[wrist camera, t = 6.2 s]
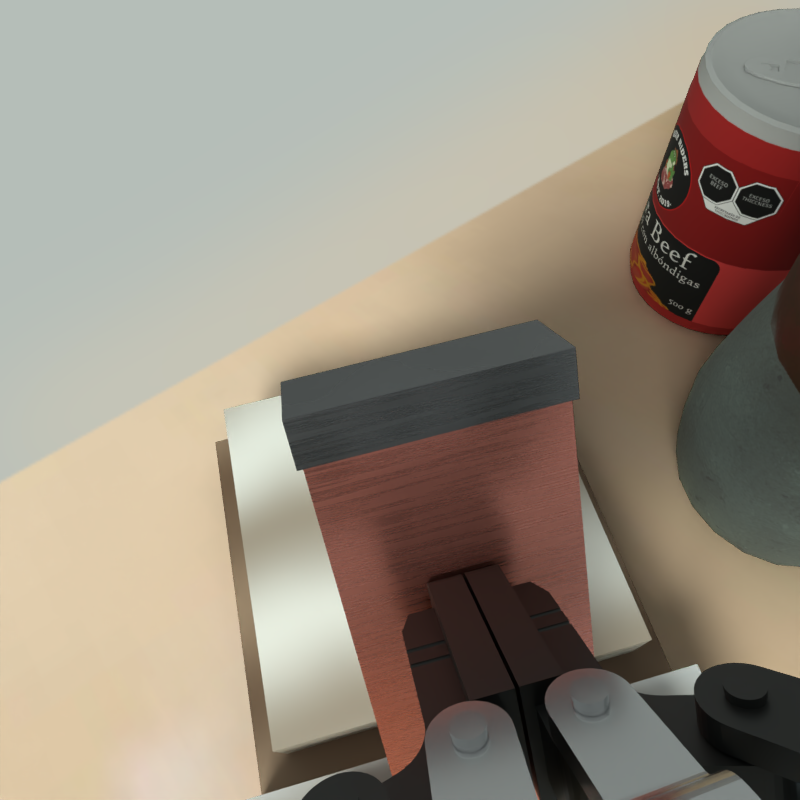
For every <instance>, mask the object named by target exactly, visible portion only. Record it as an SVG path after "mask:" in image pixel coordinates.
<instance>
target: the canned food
mask: <svg viewBox="0 0 800 800" xmlns="http://www.w3.org/2000/svg"><path fill="white" fill-rule="evenodd" d="M799 254H800V9H777V10H771V11H764V12H758V13H755V14H752V15H748V16H745V17H742V18H739V19H738V20H735V21H734V22H731V23H729V24H727V25H726V26H725V27H724V28H722V29H721V30H720V31H718V32H717V33H716V34H715V36H714V37H713V38H712V40H711V41H710V42H709V44H708V47H707V49H706V52H705V53H704V55H703V56H702V58H701V60H700V63H699V65H698V68H697V71H696V73H695V76H694V79H693V81H692V83H691V85H690V88H689V90H688V93H687V96H686V98H685V101H684V104H683V107H682V109H681V112H680V115H679V117H678V120H677V123H676V126H675V128H674V131H673V134H672V136H671V139H670V142H669V145H668V147H667V150H666V153H665V155H664V158H663V161H662V163H661V166H660V169H659V172H658V174H657V177H656V180H655V182H654V185H653V188H652V191H651V193H650V196H649V199H648V201H647V204H646V207H645V210H644V212H643V215H642V218H641V220H640V223H639V226H638V229H637V231H636V234H635V237H634V239H633V243H632V246H631V249H630V268H631V275H632V279H633V283H634V285H635V287H636V288H637V290H638V292H639V294H640V295H641V296H642V298H643V299H644V300H645V301H646V303H647V304H648V305H649V306H651V307H652V308H653V309H654V310H655V311H656V312H658V313H659V314H660V315H662V316H664V317H665V318H667V319H668V320H670V321H672V322H674V323H676V324H678V325H681V326H683V327H685V328H688V329H692V330H695V331H699V332H703V333H709V334H717V335H729V334H730V333H731V332H732V331H733V330H734V328H735V327H736V326H737V325H738V324H739V323H740V322H741V321H742V320H743V319H744V318H745V317H746V316H747V315H748V314H749V313H750V312H751V311H752V310H753V309H754V308H755V307H756V306H757V305H758V304H759V303H760V302H761V301H762V300H763V299H764V298H765V297H766V296H767V295H768V294H769V293H770V292H771V291H773V290H774V289H775V288H776V287H777V286H778V285H779V284H780V283H781V282H782V281H783V280H784V279H785V278H786V276H787V274H788V273H789V271H790V269H791V267H792V266H793V264H794V262H795V260H796V259H797V257H798V255H799Z"/></svg>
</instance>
